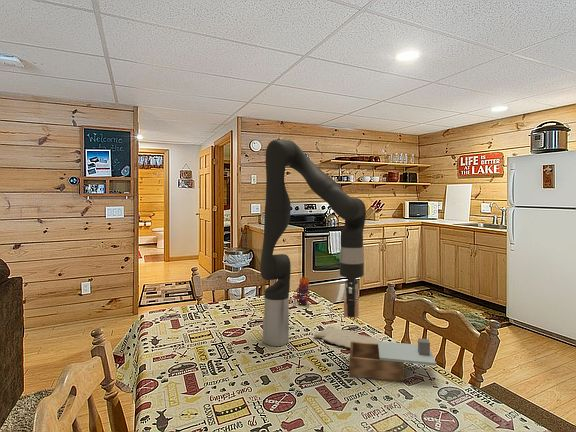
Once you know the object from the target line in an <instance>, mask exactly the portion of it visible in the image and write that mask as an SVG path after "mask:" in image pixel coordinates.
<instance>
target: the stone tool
mask: <svg viewBox="0 0 576 432" xmlns="http://www.w3.org/2000/svg"><path fill="white" fill-rule="evenodd" d="M313 337H314V338H320V339H322V340H323V341H325V342H328V343H330V344H335V345H336V346H340V347H345V348H348V349H350V345H351V342H362V343H373V344H378V341H381V340H380V339H378V338H377V337H375V336H367V335H363V334H359V333H357V332H356V331H352V330H348V329H340V328H334V327H332V326H331V325H330V326H326V328H324V329H322V330H320V331H318V332H315V333H313Z"/></svg>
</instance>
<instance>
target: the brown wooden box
mask: <svg viewBox="0 0 576 432" xmlns="http://www.w3.org/2000/svg"><path fill="white" fill-rule="evenodd" d="M348 367H349V370H348V371H349V373H348V375H349V377H351V378H356V379H358V378H359V379H367V380H378V381H386V382H393V383H405V382H404V379H405V377H404V376H405V374H404V373H405V372H404V371H405V363H403V362H393V361H383V360H380V359H379V350H378V344H373V343H362V342H351V345H350V348H349V366H348Z"/></svg>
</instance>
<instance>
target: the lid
mask: <svg viewBox="0 0 576 432" xmlns="http://www.w3.org/2000/svg"><path fill="white" fill-rule="evenodd" d="M378 350H379V359H380V360H383V361H393V362H403V363H404V364H405V363H406V364H416V365H424V366H437V361H436V360H435V357H434V355H433V352H432V350H431V341H430V340H429V338H421V337H419V338H417V344H415V343H403V342H392V341H381V340H380V341H378Z"/></svg>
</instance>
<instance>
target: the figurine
mask: <svg viewBox="0 0 576 432" xmlns="http://www.w3.org/2000/svg"><path fill="white" fill-rule="evenodd" d="M309 284H310V279H309V276H306V275H304V276H303V277H301V278H300V279H299V284H298V287H297V288H296V295H293V297H292V298H293V302H292V303H291V304H292V305H296V304H297V303H298V305H299V306H304V305H306V306H307V307H309V306H310V303H309V300H310V296H311V294H310V290H309ZM304 295H305V296H304ZM300 303H301V304H300Z"/></svg>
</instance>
